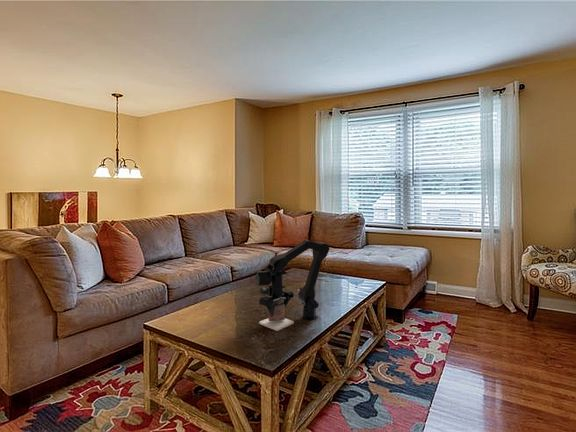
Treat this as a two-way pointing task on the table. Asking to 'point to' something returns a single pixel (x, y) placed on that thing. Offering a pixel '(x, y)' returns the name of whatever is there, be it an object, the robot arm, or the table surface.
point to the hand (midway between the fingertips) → (276, 314)
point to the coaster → (276, 324)
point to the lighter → (278, 311)
